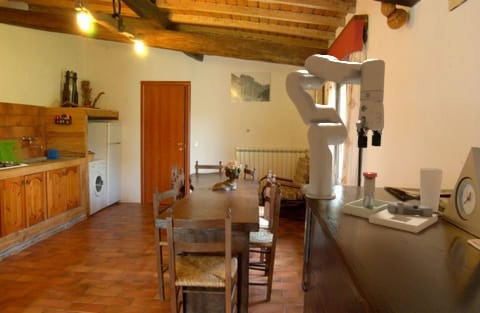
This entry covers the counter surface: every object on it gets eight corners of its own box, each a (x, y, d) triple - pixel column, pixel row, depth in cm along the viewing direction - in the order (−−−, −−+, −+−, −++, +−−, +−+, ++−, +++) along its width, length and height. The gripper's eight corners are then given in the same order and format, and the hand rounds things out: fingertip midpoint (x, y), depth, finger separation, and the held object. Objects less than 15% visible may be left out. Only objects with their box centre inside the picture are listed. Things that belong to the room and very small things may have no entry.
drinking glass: (443, 213, 109) (446, 170, 108) (422, 213, 110) (424, 170, 109) (435, 208, 116) (437, 167, 114) (415, 208, 117) (417, 167, 115)
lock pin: (371, 212, 109) (373, 174, 108) (359, 209, 113) (360, 173, 111) (377, 209, 112) (379, 173, 111) (365, 206, 116) (367, 171, 114)
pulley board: (369, 222, 101) (369, 206, 100) (392, 212, 112) (393, 197, 111) (416, 232, 90) (417, 214, 90) (437, 220, 101) (438, 204, 101)
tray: (343, 212, 111) (343, 204, 111) (365, 205, 122) (365, 197, 121) (372, 219, 104) (372, 210, 103) (393, 210, 114) (393, 202, 113)
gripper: (369, 95, 100) (367, 149, 102) (393, 97, 112) (391, 146, 114) (348, 96, 106) (346, 147, 108) (373, 98, 117) (371, 145, 119)
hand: (369, 146), depth 111 cm, fingers open, 9 cm apart
